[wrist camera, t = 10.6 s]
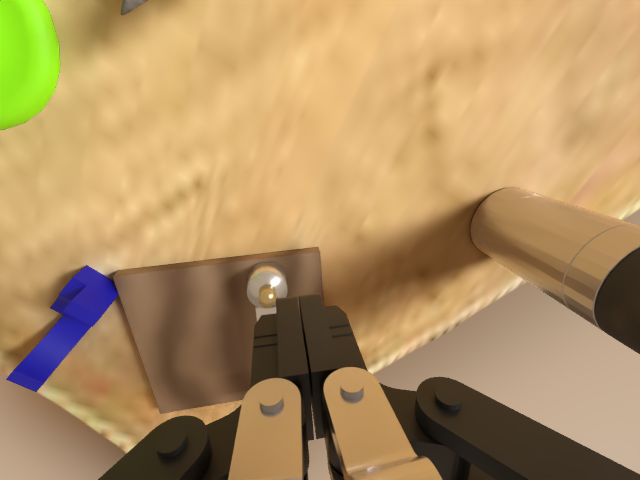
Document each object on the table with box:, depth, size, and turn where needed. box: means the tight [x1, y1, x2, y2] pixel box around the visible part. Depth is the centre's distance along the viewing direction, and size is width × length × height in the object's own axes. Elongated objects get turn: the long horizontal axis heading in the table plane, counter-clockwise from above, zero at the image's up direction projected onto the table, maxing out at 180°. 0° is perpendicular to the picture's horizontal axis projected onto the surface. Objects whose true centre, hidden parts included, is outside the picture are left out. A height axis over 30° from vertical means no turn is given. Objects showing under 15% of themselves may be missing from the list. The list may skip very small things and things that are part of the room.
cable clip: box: [6, 265, 119, 392], centre depth 35 cm, size 12×4×6 cm, turn 136°
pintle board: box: [113, 247, 324, 414], centre depth 39 cm, size 23×21×6 cm
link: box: [247, 261, 287, 321], centre depth 38 cm, size 18×4×5 cm, turn 2°
